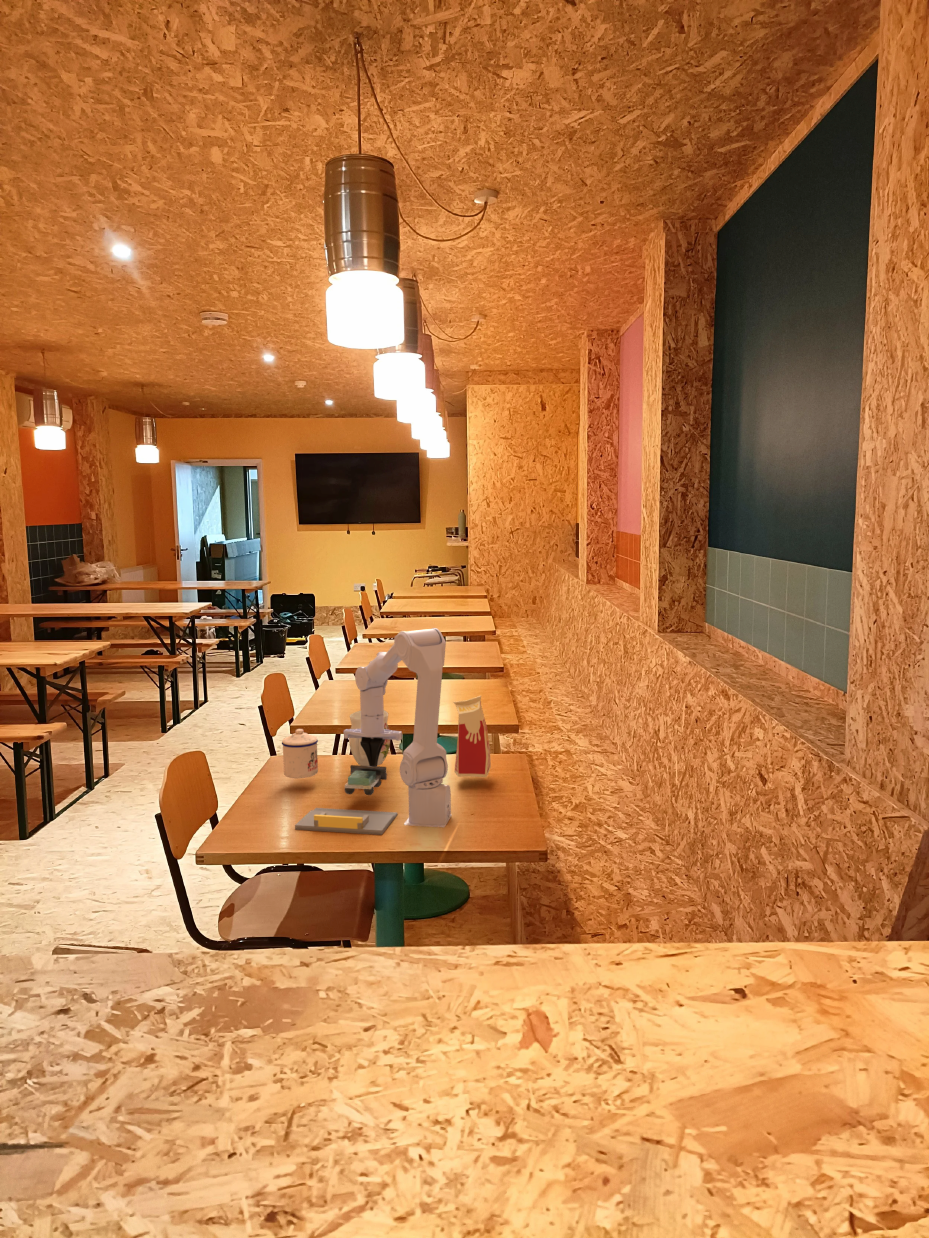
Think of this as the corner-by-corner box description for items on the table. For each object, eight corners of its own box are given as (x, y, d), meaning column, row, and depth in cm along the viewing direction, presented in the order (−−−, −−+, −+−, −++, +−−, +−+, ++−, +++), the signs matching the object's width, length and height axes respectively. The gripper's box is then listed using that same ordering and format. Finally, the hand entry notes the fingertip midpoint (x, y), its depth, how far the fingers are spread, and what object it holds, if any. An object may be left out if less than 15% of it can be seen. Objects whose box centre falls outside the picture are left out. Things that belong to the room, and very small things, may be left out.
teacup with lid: (315, 779, 202) (313, 733, 200) (279, 779, 202) (277, 734, 200) (323, 764, 214) (322, 722, 212) (289, 765, 214) (288, 722, 212)
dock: (397, 814, 185) (397, 800, 185) (381, 834, 173) (381, 819, 173) (316, 809, 189) (315, 795, 189) (295, 829, 177) (294, 814, 177)
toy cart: (386, 785, 196) (386, 766, 195) (376, 797, 187) (375, 777, 187) (351, 783, 198) (351, 764, 197) (339, 795, 189) (338, 775, 188)
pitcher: (336, 772, 207) (334, 720, 205) (362, 753, 224) (360, 705, 222) (376, 775, 204) (375, 722, 202) (399, 755, 221) (398, 707, 220)
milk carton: (490, 766, 210) (490, 692, 208) (488, 777, 201) (487, 699, 199) (456, 766, 211) (455, 691, 209) (452, 777, 202) (451, 699, 199)
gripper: (404, 711, 201) (405, 763, 203) (349, 709, 204) (351, 760, 205) (397, 717, 194) (398, 771, 196) (340, 715, 197) (341, 769, 199)
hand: (373, 766), depth 200 cm, fingers closed
